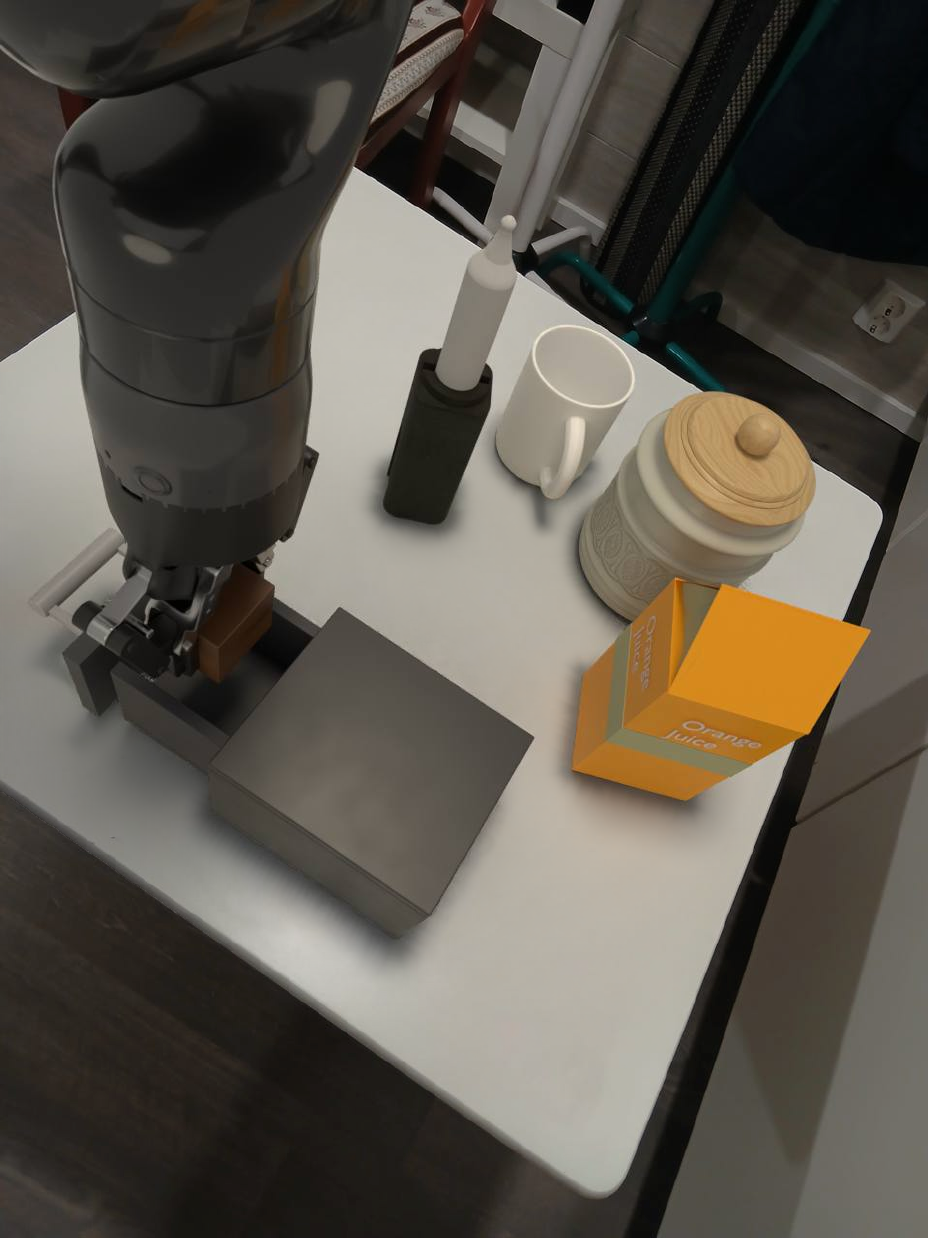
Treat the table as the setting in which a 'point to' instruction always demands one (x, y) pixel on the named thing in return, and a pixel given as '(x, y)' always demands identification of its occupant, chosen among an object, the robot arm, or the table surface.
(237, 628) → the block
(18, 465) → the table surface
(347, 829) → the fryer
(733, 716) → the orange juice
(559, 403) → the mug
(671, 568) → the jar
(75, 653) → the basket
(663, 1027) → the table surface
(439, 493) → the candle
